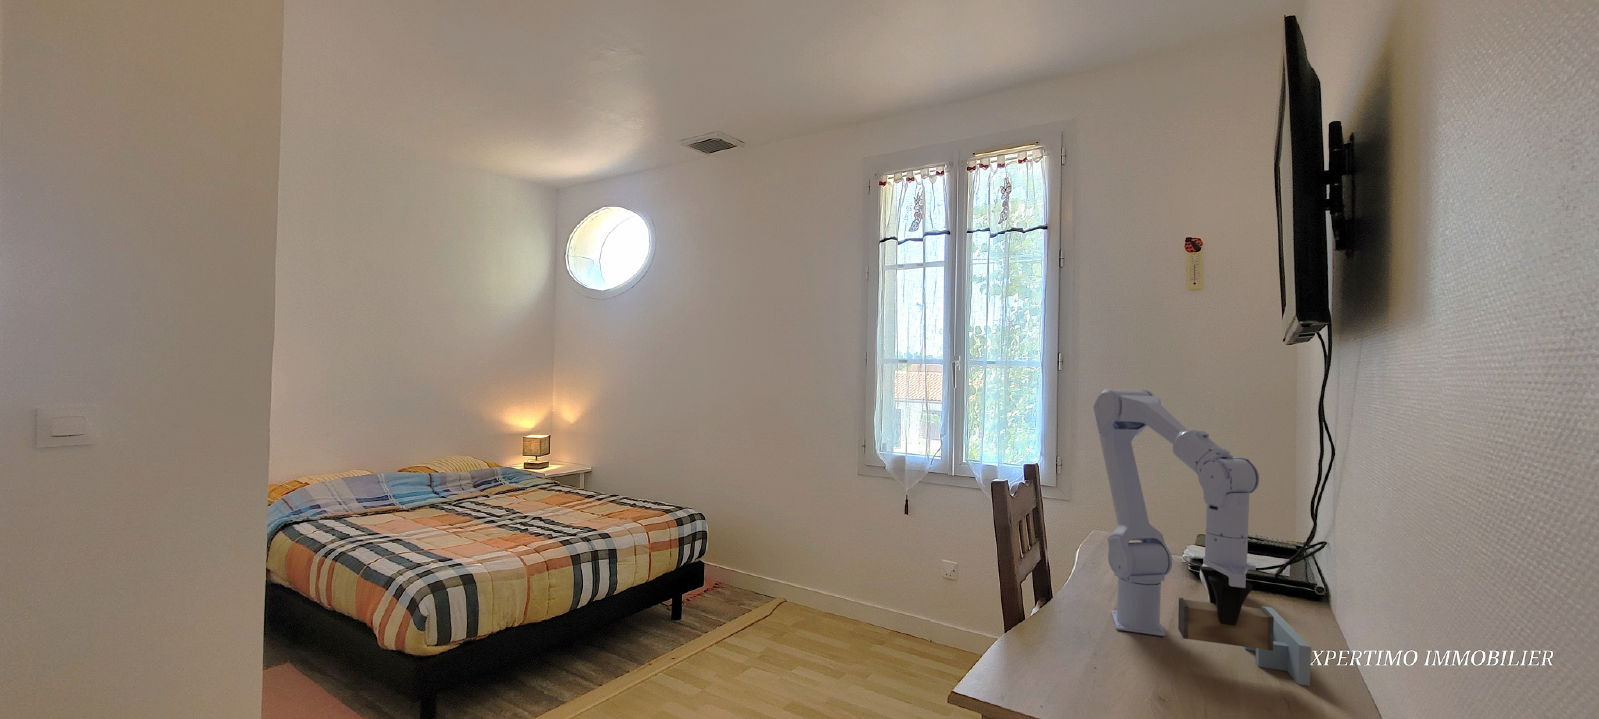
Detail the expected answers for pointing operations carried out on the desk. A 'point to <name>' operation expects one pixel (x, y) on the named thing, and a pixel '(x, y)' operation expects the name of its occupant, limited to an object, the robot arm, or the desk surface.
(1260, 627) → the half pipe ramp
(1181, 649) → the desk surface
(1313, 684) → the desk surface
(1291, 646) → the grey footed slab
